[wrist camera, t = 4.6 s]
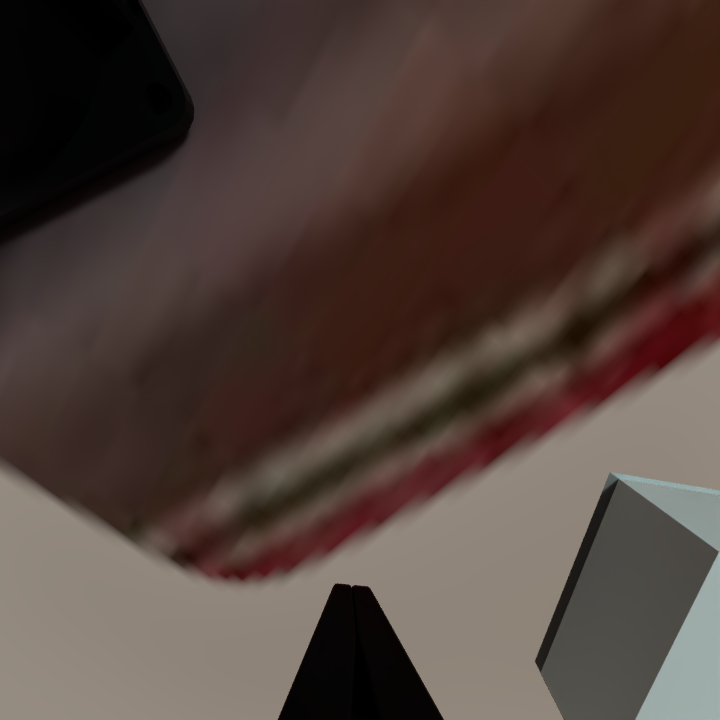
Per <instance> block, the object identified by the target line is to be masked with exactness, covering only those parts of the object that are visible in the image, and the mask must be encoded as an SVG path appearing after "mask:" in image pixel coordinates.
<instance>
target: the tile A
mask: <svg viewBox="0 0 720 720" xmlns="http://www.w3.org/2000/svg"><path fill="white" fill-rule="evenodd" d="M535 663H536V665H537V667H538V669H539V671H540V673H541V674H542V677H543V679H544V681H545V683H546V685H547V687H548V689H549V691H550V693H551V695H552V697H553V699H554V701H555V703H556V704H557V706H558V709H559V711H560V713H561V715H562V717H563V718H564V720H720V490H714V489H708V488H702V487H696V486H690V485H684V484H678V483H672V482H666V481H660V480H654V479H648V478H642V477H636V476H630V475H623V474H617V473H612V472H610V473H609V475H608V478H607V481H606V483H605V485H604V488H603V491H602V493H601V496H600V498H599V501H598V503H597V506H596V508H595V511H594V513H593V516H592V518H591V521H590V523H589V526H588V528H587V531H586V533H585V536H584V538H583V541H582V543H581V546H580V548H579V551H578V553H577V556H576V559H575V561H574V564H573V566H572V569H571V571H570V574H569V576H568V579H567V582H566V584H565V587H564V589H563V591H562V594H561V596H560V599H559V601H558V604H557V606H556V609H555V611H554V614H553V616H552V619H551V622H550V624H549V626H548V629H547V632H546V634H545V637H544V639H543V642H542V644H541V647H540V649H539V652H538V654H537V657H536V659H535Z"/></svg>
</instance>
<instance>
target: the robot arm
mask: <svg viewBox="0 0 720 720" xmlns="http://www.w3.org/2000/svg"><path fill="white" fill-rule="evenodd" d="M167 93H168V94H170V95H171V97H172V105H171V108H170V109H169V110H168V111H167V112H166V113H164V114H156V111H155V108H154V106H155V101H156V99H157V98H158V97H159V96H160V95H161V94H167ZM193 119H194V106H193V103H192V99H191V96H190V95H189V93H188V91H187V89H186V87H185V85H184V83H183V81H182V79H181V77H180V75H179V73H178V71H177V69H176V67H175V65H174V63H173V61H172V59H171V57H170V55H169V53H168V51H167V49H166V48H165V46H164V44H163V42H162V40H161V38H160V36H159V34H158V32H157V30H156V28H155V26H154V24H153V22H152V20H151V18H150V16H149V14H148V12H147V10H146V8H145V6H144V4H143V2H142V0H0V228H2V227H4V226H6V225H8V224H10V223H12V222H14V221H16V220H18V219H20V218H22V217H24V216H26V215H28V214H29V213H31V212H33V211H35V210H37V209H39V208H41V207H43V206H45V205H47V204H49V203H51V202H53V201H55V200H57V199H58V198H60V197H62V196H64V195H66V194H68V193H70V192H72V191H74V190H76V189H78V188H80V187H82V186H84V185H86V184H88V183H89V182H91V181H93V180H95V179H97V178H99V177H101V176H103V175H105V174H107V173H109V172H111V171H113V170H115V169H117V168H118V167H120V166H122V165H124V164H126V163H128V162H130V161H132V160H134V159H136V158H138V157H140V156H142V155H144V154H146V153H147V152H149V151H151V150H153V149H155V148H157V147H159V146H161V145H163V144H165V143H167V142H169V141H171V140H173V139H175V138H176V137H178V136H180V135H182V134H183V133H184V132H186V131H187V130H188V129H189V128H190V126H191V124H192V122H193ZM278 720H444V719H443V717H442V716H441V714H440V712H439V710H438V708H437V707H436V705H435V703H434V701H433V699H432V698H431V696H430V694H429V692H428V691H427V689H426V687H425V685H424V683H423V682H422V680H421V678H420V676H419V674H418V673H417V671H416V669H415V667H414V666H413V664H412V662H411V660H410V659H409V657H408V655H407V653H406V651H405V649H404V648H403V646H402V644H401V643H400V641H399V639H398V637H397V635H396V633H395V632H394V630H393V628H392V626H391V624H390V623H389V621H388V619H387V617H386V616H385V614H384V612H383V610H382V608H381V607H380V605H379V603H378V601H377V599H376V598H375V596H374V594H373V592H372V591H371V589H370V588H369V587H367V586H357V585H354V586H352V587H351V586H350V585H347V584H335V585H334V586H333V588H332V591H331V593H330V595H329V598H328V600H327V603H326V605H325V607H324V610H323V612H322V615H321V618H320V620H319V622H318V624H317V627H316V629H315V631H314V634H313V636H312V639H311V641H310V644H309V646H308V648H307V651H306V653H305V655H304V658H303V660H302V663H301V665H300V667H299V670H298V672H297V675H296V677H295V679H294V682H293V684H292V687H291V689H290V692H289V694H288V696H287V699H286V701H285V703H284V706H283V708H282V711H281V713H280V716H279V718H278Z"/></svg>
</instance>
